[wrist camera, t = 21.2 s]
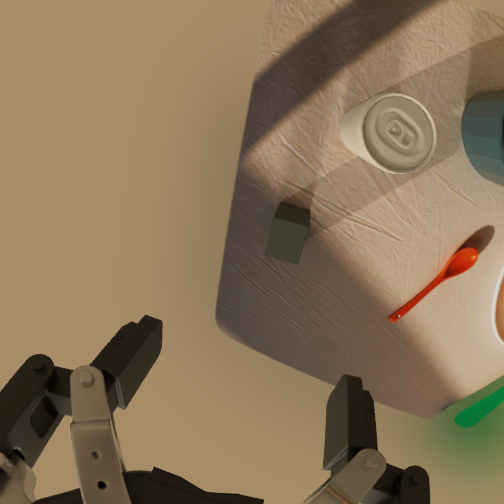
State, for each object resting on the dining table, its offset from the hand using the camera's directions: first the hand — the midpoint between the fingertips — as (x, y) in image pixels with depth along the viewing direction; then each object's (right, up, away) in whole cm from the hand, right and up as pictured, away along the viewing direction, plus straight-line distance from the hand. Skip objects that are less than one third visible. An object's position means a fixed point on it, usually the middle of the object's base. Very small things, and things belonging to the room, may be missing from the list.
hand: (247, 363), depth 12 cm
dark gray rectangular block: (+4, +7, +17) cm, 19 cm away
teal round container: (+25, +17, +9) cm, 32 cm away
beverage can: (+10, +16, +12) cm, 23 cm away
